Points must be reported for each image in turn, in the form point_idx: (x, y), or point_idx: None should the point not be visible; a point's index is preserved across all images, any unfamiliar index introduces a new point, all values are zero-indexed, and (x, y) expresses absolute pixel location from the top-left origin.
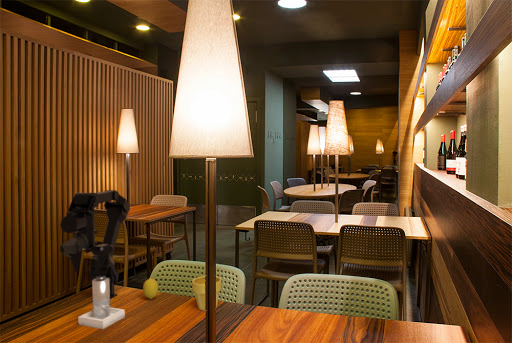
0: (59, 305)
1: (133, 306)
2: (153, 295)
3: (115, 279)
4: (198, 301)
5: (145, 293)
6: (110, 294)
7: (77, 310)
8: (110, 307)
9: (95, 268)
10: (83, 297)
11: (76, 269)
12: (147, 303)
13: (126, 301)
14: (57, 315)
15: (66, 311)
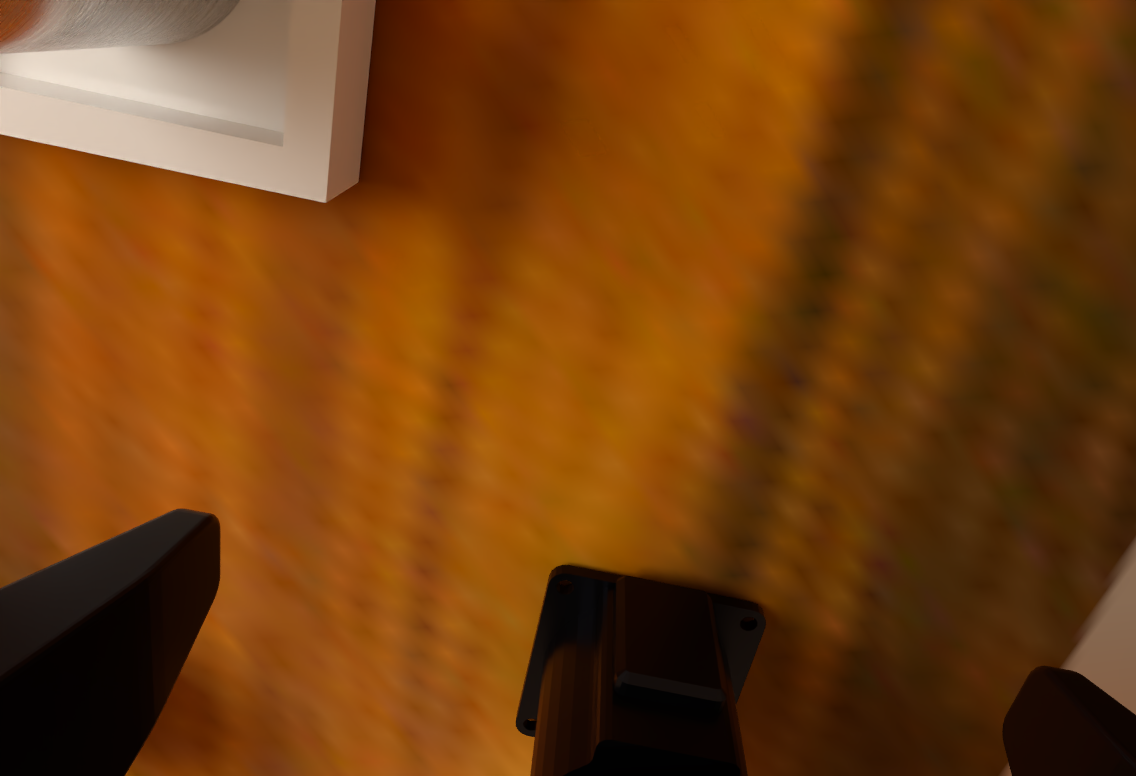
0: (1124, 369)
1: (106, 441)
2: None
3: None
4: None
5: None
6: (546, 670)
7: (758, 231)
8: (134, 158)
9: (69, 606)
10: (916, 638)
11: (1064, 737)
12: (14, 538)
13: (298, 570)
14: (969, 3)
15: (905, 175)
